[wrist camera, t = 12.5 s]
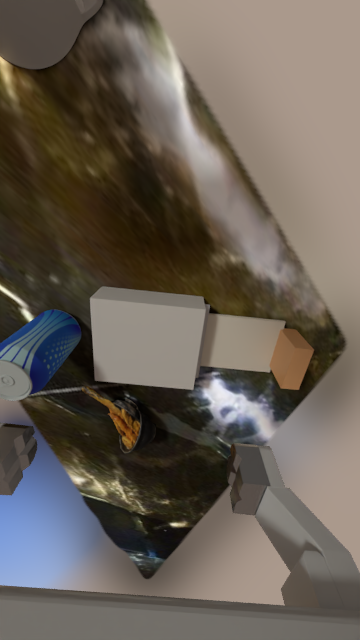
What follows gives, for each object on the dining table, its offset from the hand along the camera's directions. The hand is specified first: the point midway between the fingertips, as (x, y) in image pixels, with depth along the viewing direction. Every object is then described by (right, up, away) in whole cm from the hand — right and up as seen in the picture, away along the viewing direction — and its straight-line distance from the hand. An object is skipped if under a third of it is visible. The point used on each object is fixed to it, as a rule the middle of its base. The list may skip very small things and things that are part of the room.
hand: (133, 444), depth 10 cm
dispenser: (-4, +3, +36) cm, 37 cm away
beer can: (-21, +4, +36) cm, 42 cm away
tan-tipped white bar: (+11, +1, +36) cm, 37 cm away
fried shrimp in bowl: (-11, -14, +44) cm, 48 cm away
